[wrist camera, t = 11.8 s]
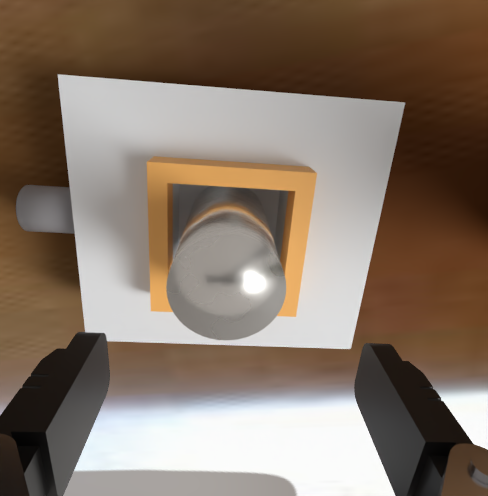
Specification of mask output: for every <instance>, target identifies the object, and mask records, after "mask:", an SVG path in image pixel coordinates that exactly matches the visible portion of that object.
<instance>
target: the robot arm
mask: <svg viewBox="0 0 488 496" xmlns="http://www.w3.org/2000/svg"><path fill="white" fill-rule="evenodd" d="M109 380H110V370H109V359H108V348H107V338H106V335H105V333H93V332H78V333H77V334H76V335H75V336H74V338H73V339H72V341H71V342H70V344H69V345H68V347H67V348H66V349H56V350H55V351H53V352H52V353H50V354H49V355H48V356H46V357H45V358H43V359H42V360H41V361H40V363H39V364H38V365H37V367H36V368H35V369H34V371H33V372H32V373H31V377H28V379H27V380H26V382H25V383H24V384H23V387H22V388H20V390H19V391H18V392H17V394H16V395H15V396H14V398H13V399H12V400H11V402H10V403H9V405H8V406H7V407H6V409H5V410H4V411H3V413H2V414H1V415H0V496H63V494H64V492H65V490H66V488H67V485H68V483H69V480H70V478H71V476H72V474H73V471H74V469H75V467H76V464H77V462H78V460H79V457H80V455H81V453H82V450H83V448H84V446H85V443H86V441H87V439H88V436H89V434H90V432H91V429H92V427H93V425H94V422H95V420H96V418H97V415H98V413H99V411H100V408H101V406H102V404H103V401H104V399H105V397H106V394H107V391H108V387H109ZM354 389H355V398H356V401H357V404H358V407H359V409H360V411H361V414H362V416H363V419H364V421H365V423H366V426H367V428H368V431H369V433H370V435H371V438H372V440H373V443H374V445H375V447H376V450H377V452H378V455H379V457H380V459H381V462H382V464H383V466H384V469H385V471H386V474H387V476H388V478H389V481H390V483H391V486H392V488H393V490H394V493H395V495H396V496H488V450H487V449H485V448H482V447H480V446H477V445H474V444H473V443H472V441H471V440H470V439H469V437H468V436H467V434H466V433H465V431H464V430H463V429H462V427H461V426H460V424H459V423H458V422H457V420H456V419H455V417H454V416H453V415H452V413H451V412H450V410H449V409H448V407H447V406H446V405H445V403H444V402H443V401H441V398H440V396H439V395H438V393H437V392H436V391H435V390H433V386H432V385H431V383H430V382H429V381H428V379H427V378H426V376H425V375H424V374H423V373H422V372H421V371H420V370H419V369H417V368H416V367H415V366H414V365H412V364H411V363H410V362H409V361H402V359H401V358H400V356H399V355H398V353H397V352H396V350H395V349H394V347H393V346H392V345H390V344H373V343H366V344H365V345H364V346H363V349H362V353H361V357H360V362H359V366H358V370H357V375H356V379H355V387H354Z"/></svg>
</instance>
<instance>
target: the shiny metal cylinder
mask: <svg viewBox="0 0 488 496" xmlns="http://www.w3.org/2000/svg"><path fill="white" fill-rule="evenodd" d="M166 290H167V298H168V302H169V304H170V307H171V309H172V311H173V312H174V314H175V316H176V317H177V318H178V319H179V321H180V322H181V323H182V324H183V325H184V326H186V327H187V328H188V329H190V330H191V331H193V332H195V333H197V334H199V335H201V336H204V337H207V338H210V339H215V340H237V339H242V338H246V337H249V336H251V335H254V334H256V333H258V332H259V331H261V330H263V329H264V328H265V327H267V326H268V325H269V324H270V323H271V322H272V321H273V320H274V319H275V318H276V316H277V315H278V313H279V312H280V310H281V308H282V306H283V303H284V300H285V295H286V279H285V275H284V271H283V268H282V265H281V262H280V259H279V256H278V253H277V250H276V246H275V243H274V240H273V237H272V234H271V231H270V228H269V225H268V221H267V218H266V215H265V212H264V209H263V206H262V204H261V201H260V200H259V198H258V197H257V196H256V194H255V193H254V192H253V191H251V190H250V189H249V188H237V187H221V186H209V187H208V188H206V189H205V190H203V191H202V192H201V193H200V194H199V195H198V197H197V198H196V199H195V201H194V203H193V206H192V209H191V211H190V214H189V217H188V220H187V223H186V226H185V228H184V231H183V234H182V237H181V240H180V243H179V245H178V248H177V251H176V254H175V257H174V260H173V262H172V265H171V268H170V271H169V274H168V278H167V286H166Z"/></svg>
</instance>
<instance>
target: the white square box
mask: <svg viewBox="0 0 488 496" xmlns="http://www.w3.org/2000/svg"><path fill="white" fill-rule="evenodd" d="M58 83H59V92H60V102H61V111H62V120H63V130H64V139H65V148H66V157H67V167H68V176H69V185H70V187H55V186H39V185H25V186H24V187H22V189H21V190H20V192H19V194H18V197H17V201H16V214H17V219H18V222H19V224H20V226H21V227H22V228H23V229H24V230H26V231H35V232H54V233H73V234H75V241H76V250H77V259H78V268H79V278H80V287H81V296H82V305H83V315H84V324H85V332H93V333H105V335H106V338H107V341H122V342H152V343H183V344H213V345H244V346H274V347H305V348H335V349H351V345H352V341H353V336H354V332H355V327H356V323H357V318H358V314H359V309H360V305H361V300H362V296H363V291H364V287H365V282H366V278H367V273H368V269H369V264H370V259H371V255H372V250H373V246H374V241H375V237H376V232H377V228H378V223H379V219H380V214H381V210H382V205H383V201H384V196H385V192H386V187H387V183H388V178H389V174H390V169H391V165H392V160H393V156H394V151H395V147H396V142H397V138H398V133H399V129H400V124H401V119H402V115H403V110H404V106H405V102H393V101H380V100H368V99H355V98H343V97H331V96H318V95H306V94H294V93H281V92H269V91H257V90H244V89H232V88H220V87H207V86H195V85H183V84H170V83H158V82H146V81H133V80H121V79H109V78H96V77H84V76H72V75H59V74H58ZM209 186H221V187H237V188H249V189H250V190H251V191H253V192H254V193H255V194H256V196H257V197H258V198H259V200H260V201H261V204H262V206H263V209H264V212H265V215H266V218H267V221H268V225H269V228H270V231H271V234H272V237H273V240H274V243H275V246H276V250H277V253H278V256H279V259H280V262H281V265H282V268H283V271H284V275H285V279H286V295H285V300H284V303H283V306H282V308H281V310H280V312H279V313H278V315H277V316H276V318H275V319H274V320H273V321H272V322H271V323H270V324H269V325H268V326H267V327H265V328H264V329H263V330H261V331H259V332H258V333H256V334H254V335H251V336H249V337H246V338H242V339H237V340H215V339H210V338H207V337H204V336H201V335H199V334H197V333H195V332H193V331H191V330H190V329H188V328H187V327H186V326H184V325H183V324H182V323H181V322H180V321H179V319H178V318H177V317H176V316H175V314H174V312H173V311H172V309H171V307H170V304H169V302H168V298H167V290H166V286H167V278H168V274H169V271H170V268H171V265H172V262H173V260H174V257H175V254H176V251H177V248H178V245H179V243H180V240H181V237H182V234H183V231H184V228H185V226H186V223H187V220H188V217H189V214H190V211H191V209H192V206H193V203H194V201H195V199H196V198H197V197H198V195H199V194H200V193H201V192H202V191H203V190H205V189H206V188H208V187H209Z"/></svg>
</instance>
